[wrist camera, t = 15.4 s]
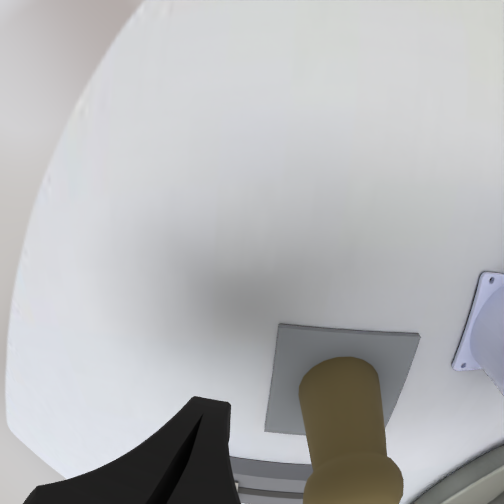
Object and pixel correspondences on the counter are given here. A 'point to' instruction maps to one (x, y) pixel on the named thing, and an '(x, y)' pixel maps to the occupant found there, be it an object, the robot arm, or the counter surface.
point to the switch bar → (269, 481)
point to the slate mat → (327, 347)
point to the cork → (347, 435)
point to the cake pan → (471, 483)
